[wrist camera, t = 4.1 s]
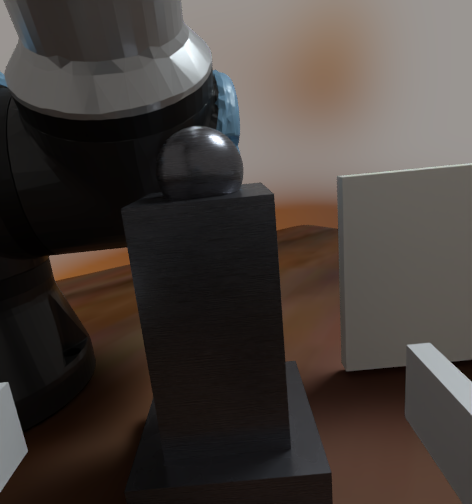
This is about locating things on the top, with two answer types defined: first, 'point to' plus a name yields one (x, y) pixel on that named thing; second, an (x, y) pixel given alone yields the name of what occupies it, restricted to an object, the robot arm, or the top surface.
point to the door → (405, 264)
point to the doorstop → (216, 339)
